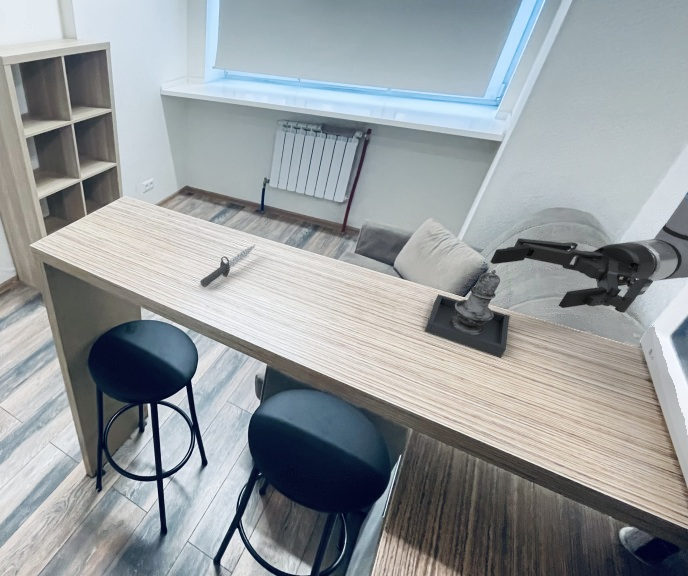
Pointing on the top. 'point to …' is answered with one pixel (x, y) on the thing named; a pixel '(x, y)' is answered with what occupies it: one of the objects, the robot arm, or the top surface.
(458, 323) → the salt shaker
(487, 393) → the top surface
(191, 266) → the top surface
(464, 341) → the serving tray
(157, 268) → the top surface
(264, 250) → the top surface
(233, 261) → the knife
